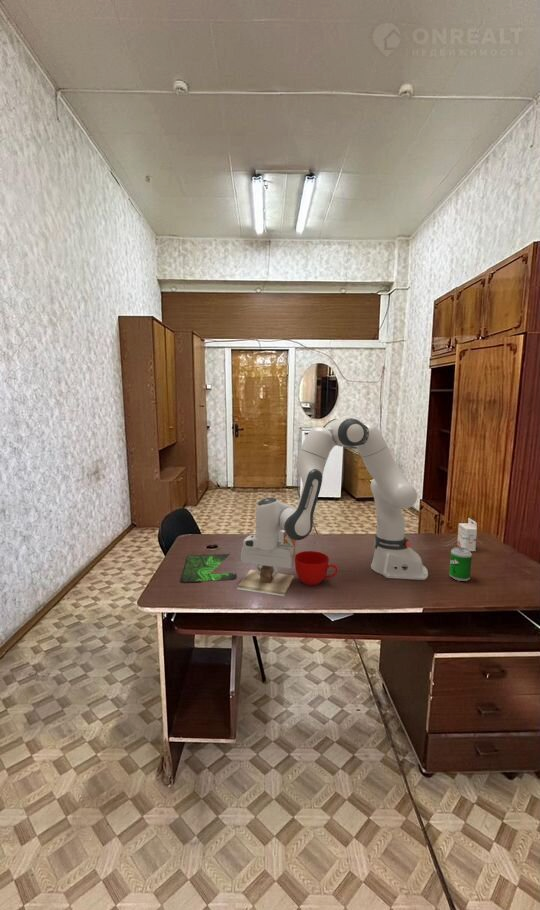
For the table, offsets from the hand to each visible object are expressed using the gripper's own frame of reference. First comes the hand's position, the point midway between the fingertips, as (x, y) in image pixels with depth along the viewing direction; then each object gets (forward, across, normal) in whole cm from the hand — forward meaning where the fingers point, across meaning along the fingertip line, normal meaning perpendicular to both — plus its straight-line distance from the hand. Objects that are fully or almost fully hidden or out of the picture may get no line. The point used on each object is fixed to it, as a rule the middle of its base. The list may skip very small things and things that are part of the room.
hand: (266, 575), depth 145 cm
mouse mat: (+4, +27, -7) cm, 28 cm away
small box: (+3, 0, -28) cm, 28 cm away
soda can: (+3, -72, -27) cm, 77 cm away
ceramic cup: (+3, -18, -6) cm, 19 cm away
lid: (+3, 0, 0) cm, 3 cm away
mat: (+3, 0, 0) cm, 3 cm away
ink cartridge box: (+3, -81, -62) cm, 102 cm away
